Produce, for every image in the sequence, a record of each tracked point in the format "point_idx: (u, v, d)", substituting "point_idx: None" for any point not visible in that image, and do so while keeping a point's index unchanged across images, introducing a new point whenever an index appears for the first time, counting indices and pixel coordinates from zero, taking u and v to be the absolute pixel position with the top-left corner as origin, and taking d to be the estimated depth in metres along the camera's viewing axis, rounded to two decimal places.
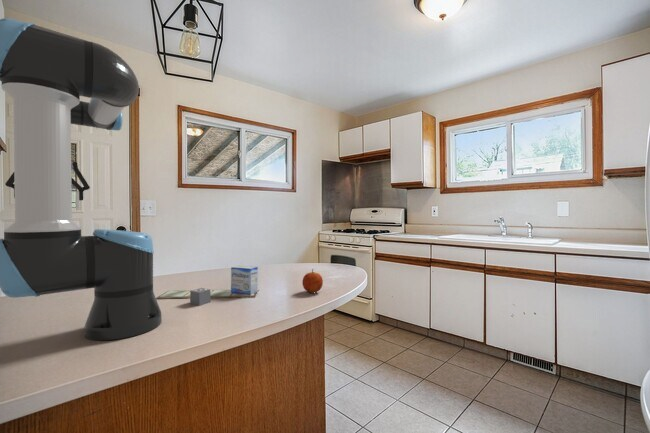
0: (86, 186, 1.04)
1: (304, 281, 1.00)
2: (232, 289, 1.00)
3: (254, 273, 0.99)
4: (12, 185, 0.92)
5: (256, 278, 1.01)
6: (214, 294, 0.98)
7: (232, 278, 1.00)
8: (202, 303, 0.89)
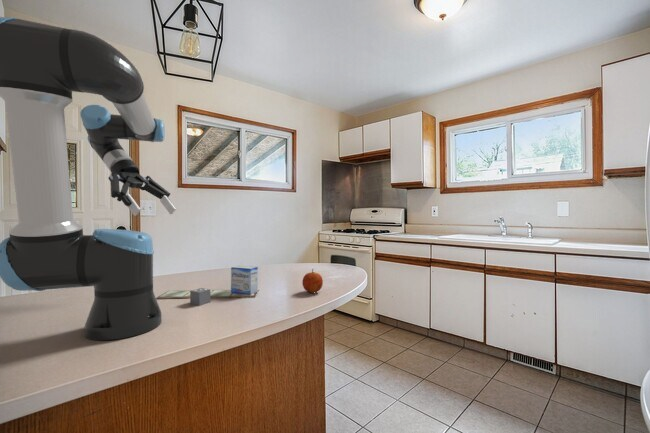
0: (167, 192, 1.07)
1: (304, 281, 1.00)
2: (232, 289, 1.00)
3: (254, 273, 0.99)
4: (119, 192, 0.90)
5: (256, 278, 1.01)
6: (214, 294, 0.98)
7: (232, 278, 1.00)
8: (202, 303, 0.89)
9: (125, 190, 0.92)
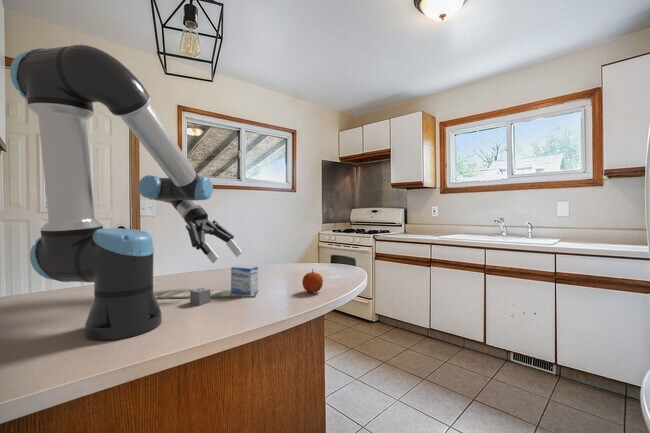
0: (231, 235, 1.15)
1: (304, 281, 1.00)
2: (232, 289, 1.00)
3: (254, 273, 0.99)
4: (199, 242, 0.98)
5: (256, 278, 1.01)
6: (214, 294, 0.98)
7: (232, 278, 1.00)
8: (202, 303, 0.89)
9: (203, 239, 0.99)
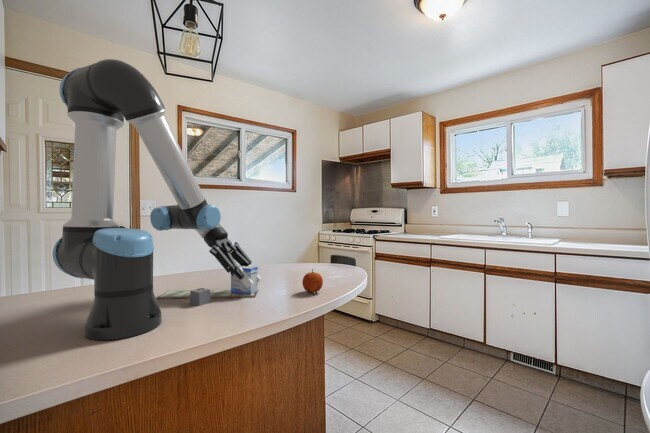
0: (249, 260, 1.06)
1: (304, 281, 1.00)
2: (232, 289, 1.00)
3: (254, 273, 0.99)
4: (233, 267, 0.97)
5: (256, 278, 1.01)
6: (214, 294, 0.98)
7: (232, 278, 1.00)
8: (202, 303, 0.89)
9: (235, 263, 0.98)
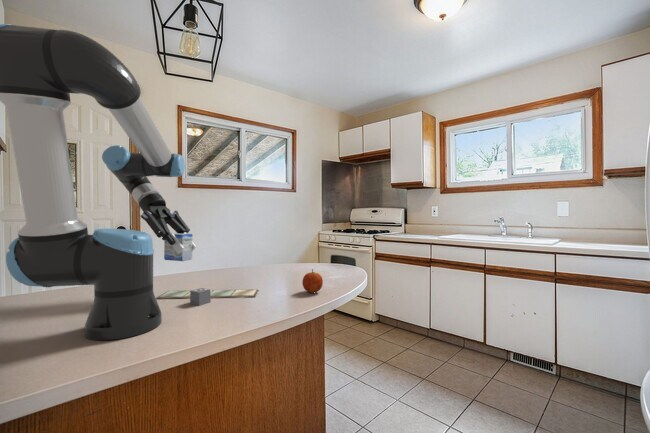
0: (187, 228, 1.04)
1: (304, 281, 1.00)
2: (165, 256, 0.98)
3: (187, 240, 0.97)
4: (164, 232, 0.95)
5: (190, 245, 0.99)
6: (214, 294, 0.98)
7: (165, 245, 0.98)
8: (202, 303, 0.89)
9: (167, 229, 0.97)
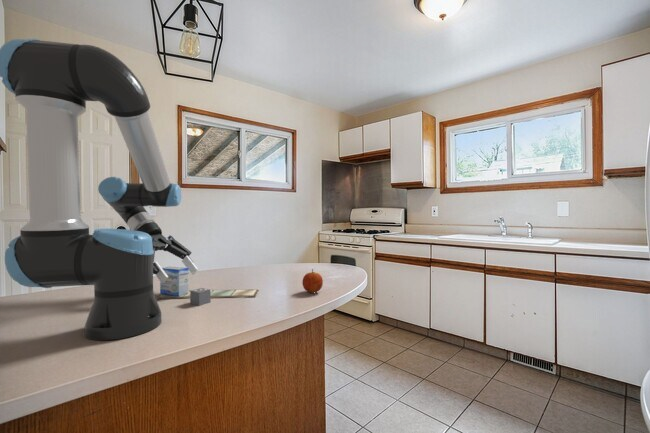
0: (188, 251, 1.08)
1: (304, 281, 1.00)
2: (161, 290, 0.98)
3: (183, 274, 0.98)
4: None
5: (186, 279, 0.99)
6: (214, 294, 0.98)
7: None
8: (202, 303, 0.89)
9: (152, 257, 0.94)
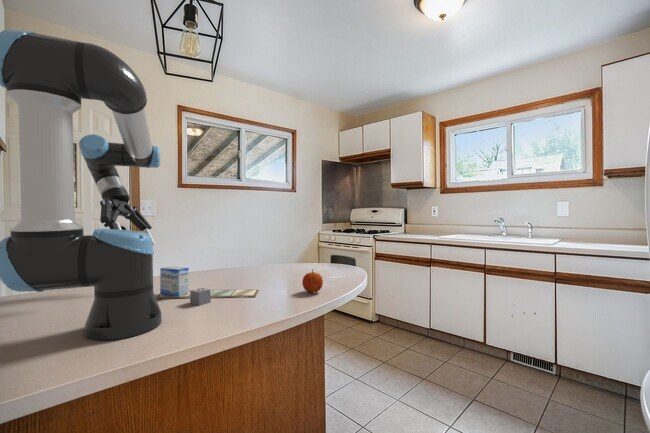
0: (149, 225, 1.11)
1: (304, 281, 1.00)
2: (161, 290, 0.98)
3: (183, 274, 0.98)
4: (109, 219, 0.93)
5: (186, 279, 0.99)
6: (214, 294, 0.98)
7: (161, 279, 0.98)
8: (202, 303, 0.89)
9: (115, 218, 0.95)
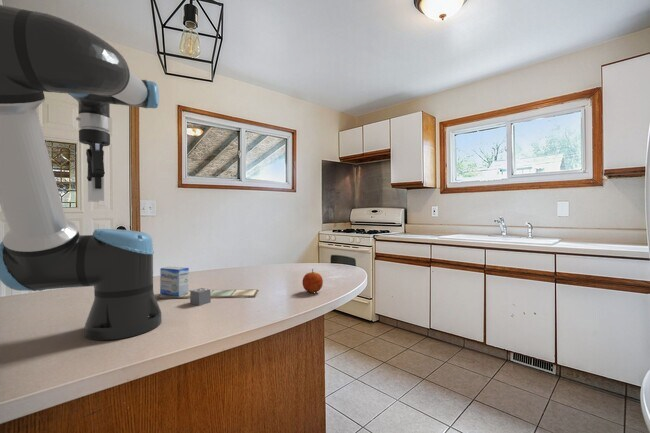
0: None
1: (304, 281, 1.00)
2: (161, 290, 0.98)
3: (183, 274, 0.98)
4: None
5: (186, 279, 0.99)
6: (214, 294, 0.98)
7: (161, 279, 0.98)
8: (202, 303, 0.89)
9: None
